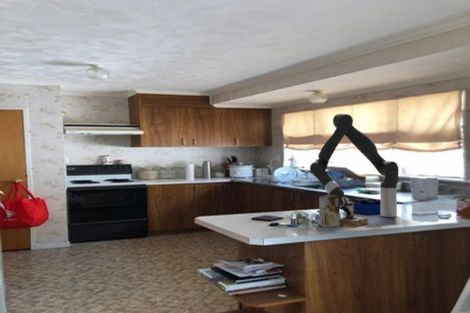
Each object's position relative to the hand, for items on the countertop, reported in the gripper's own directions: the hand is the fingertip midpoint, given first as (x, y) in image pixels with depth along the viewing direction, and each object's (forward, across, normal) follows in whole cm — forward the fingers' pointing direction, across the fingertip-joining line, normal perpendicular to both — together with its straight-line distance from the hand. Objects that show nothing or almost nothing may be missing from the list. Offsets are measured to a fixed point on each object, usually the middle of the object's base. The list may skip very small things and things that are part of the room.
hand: (352, 214), depth 250 cm
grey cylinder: (+2, 0, +5) cm, 5 cm away
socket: (+3, 0, +5) cm, 6 cm away
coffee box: (0, -13, +8) cm, 15 cm away
